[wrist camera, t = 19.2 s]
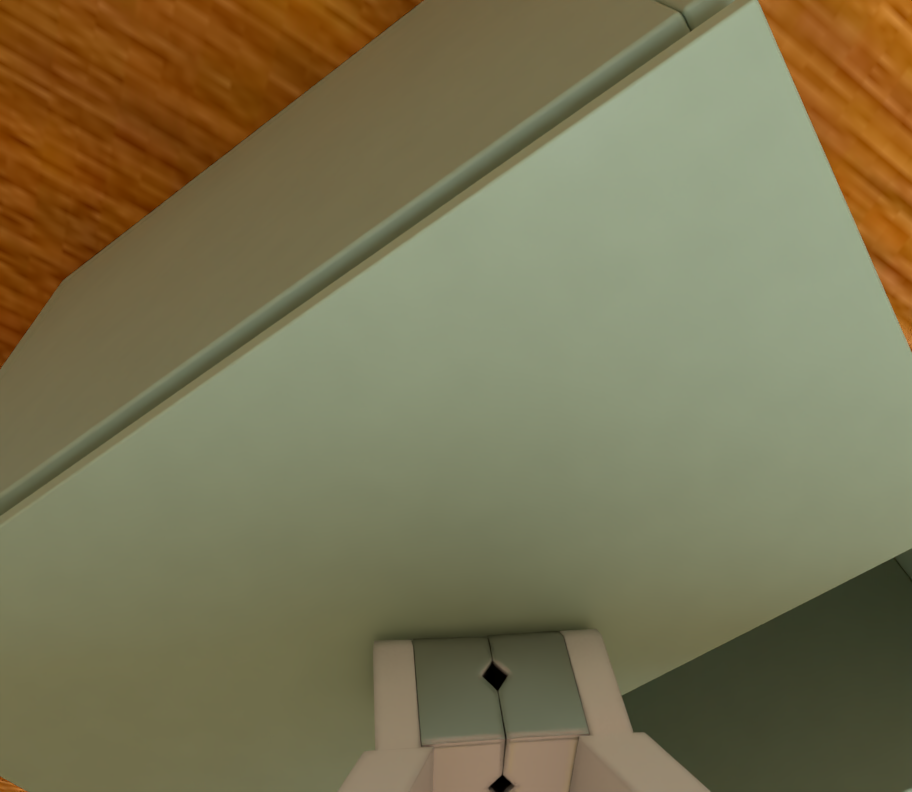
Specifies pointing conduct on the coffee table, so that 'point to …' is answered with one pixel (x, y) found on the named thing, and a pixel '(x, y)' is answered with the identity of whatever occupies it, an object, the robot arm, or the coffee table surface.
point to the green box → (370, 229)
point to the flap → (482, 449)
